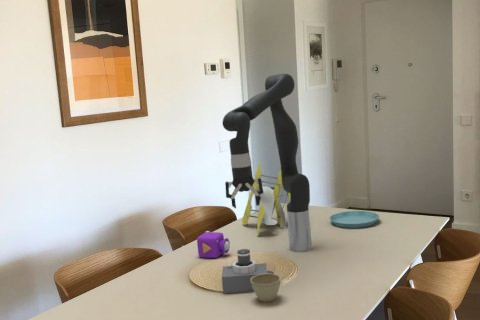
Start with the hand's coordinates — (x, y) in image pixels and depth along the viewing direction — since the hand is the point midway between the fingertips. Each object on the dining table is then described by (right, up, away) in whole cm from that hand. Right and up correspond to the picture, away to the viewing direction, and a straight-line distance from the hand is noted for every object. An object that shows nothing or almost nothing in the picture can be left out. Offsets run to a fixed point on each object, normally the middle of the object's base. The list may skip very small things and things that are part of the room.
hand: (246, 206), depth 196 cm
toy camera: (-13, -24, +26) cm, 38 cm away
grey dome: (+8, -26, -2) cm, 27 cm away
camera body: (0, -28, -12) cm, 30 cm away
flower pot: (+7, -29, -24) cm, 39 cm away
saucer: (+55, -14, +60) cm, 83 cm away
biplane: (+13, -17, +61) cm, 64 cm away
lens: (-1, -22, -12) cm, 25 cm away
